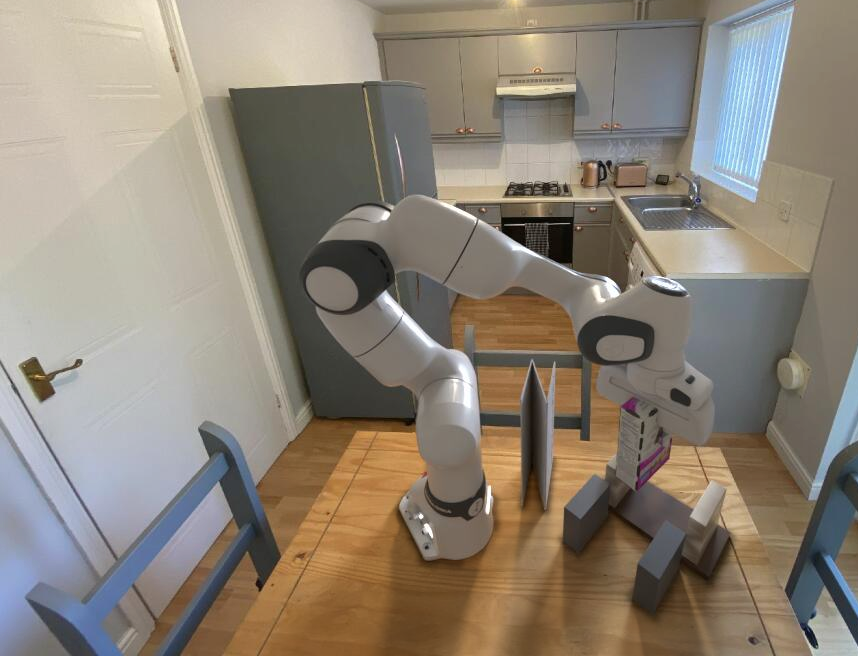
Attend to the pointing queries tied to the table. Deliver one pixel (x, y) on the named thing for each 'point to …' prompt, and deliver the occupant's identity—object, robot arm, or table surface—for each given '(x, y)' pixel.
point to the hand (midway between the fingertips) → (646, 434)
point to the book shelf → (673, 518)
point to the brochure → (537, 431)
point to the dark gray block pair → (656, 561)
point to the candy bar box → (639, 444)
